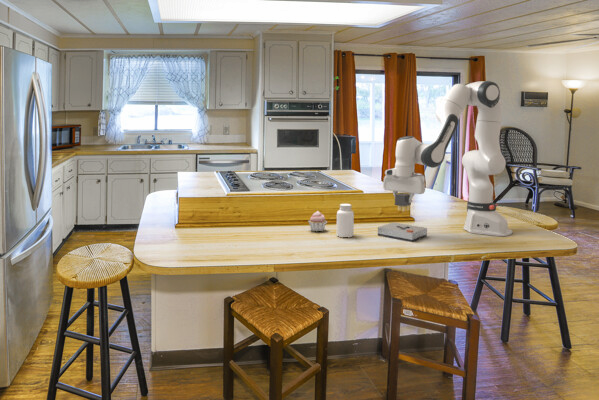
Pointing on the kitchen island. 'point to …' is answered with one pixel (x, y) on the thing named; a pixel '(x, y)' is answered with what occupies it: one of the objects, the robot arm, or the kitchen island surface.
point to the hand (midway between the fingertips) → (403, 201)
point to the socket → (402, 232)
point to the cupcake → (317, 222)
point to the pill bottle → (345, 221)
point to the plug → (402, 201)
